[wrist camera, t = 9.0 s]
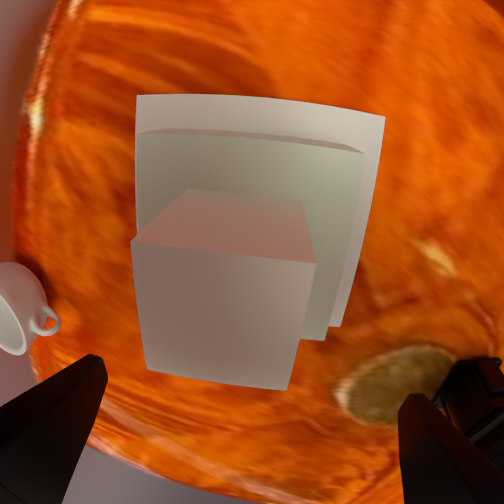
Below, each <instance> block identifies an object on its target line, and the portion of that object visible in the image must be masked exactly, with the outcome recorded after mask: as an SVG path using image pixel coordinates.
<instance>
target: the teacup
mask: <svg viewBox="0 0 504 504" xmlns="http://www.w3.org/2000/svg"><path fill="white" fill-rule="evenodd" d="M47 317H51V318H53V319H54V320H55V321H56V324H55V325H54V326H53V327H51V328H49V329H43V327H44V325H45V323H46V320H47ZM60 327H61V322H60V318H59V316H58V315H57V314H56V313H55V311H54V310H52V309H51V308H50V307H49V306H48V302H47V297H46V294H45V291H44V289H43V287H42V285H41V283H40V281H39V280H38V278H37V277H36V276H35V275H34V274H33V273H32V272H31V271H30V270H29V269H28V268H27V267H25V266H23V265H21V264H19V263H15V262H2V263H0V347H1V348H2V349H3V350H5V351H6V352H9V353H11V354H13V355H22V354H23V353H25V352H26V350H27V349H28V348H29V347H30V345H31V344H32V343H33V341H34V340H35V339H36V337H37V336H38V334H39V335H41V336H51V335H53V334H55V333H56V332H58V331H59V329H60Z"/></svg>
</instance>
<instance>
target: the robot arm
mask: <svg viewBox="0 0 504 504" xmlns="http://www.w3.org/2000/svg"><path fill="white" fill-rule="evenodd" d="M501 364H502V361H501V359H500V358H496V359H485V360H471V361H460V362H458V363H457V364H456V365H455V366H454V368H453V370H452V371H451V373H450V375H449V376H448V378H447V379H446V381H445V383H444V384H443V386H442V387H441V389H440V390H439V392H438V393H437V395H436V396H435V398H434V399H433V401H432V402H431V401H430V400H429V399H428V398H427V397H426V396H425V395H424V394H423V393H410V394H409V395H408V396H407V398H406V399H405V401H404V403H403V404H402V406H401V407H400V409H399V411H398V436H399V460H400V469H401V477H402V485H403V495H404V504H504V375H503V373H502V372H501V370H500V368H499V367H500V366H501ZM107 382H108V374H107V371H106V368H105V364H104V361H103V359H102V357H100V356H97V355H93V354H88V355H86V356H84V357H83V358H81V359H79V360H78V361H76V362H74V363H73V364H71V365H69V366H68V367H66V368H64V369H63V370H61V371H59V372H58V373H56V374H54V375H53V376H51V377H49V378H48V379H46V380H44V381H43V382H41V383H39V384H38V385H36V386H34V387H33V388H31V389H29V390H28V391H26V392H24V393H22V394H21V395H19V396H17V397H16V398H14V399H12V400H11V401H9V402H7V403H6V404H4V405H2V407H0V504H61V503H62V501H63V498H64V496H65V493H66V491H67V488H68V485H69V483H70V480H71V478H72V475H73V473H74V470H75V468H76V465H77V463H78V460H79V458H80V455H81V453H82V451H83V448H84V446H85V444H86V441H87V439H88V437H89V434H90V432H91V430H92V427H93V425H94V422H95V419H96V416H97V413H98V410H99V407H100V404H101V400H102V397H103V394H104V391H105V388H106V385H107ZM438 408H444V411H445V413H446V416H447V417H446V416H445V415H444V414H443V413H442V412H441V411H440V410H439V409H438Z"/></svg>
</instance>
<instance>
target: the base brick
mask: <svg viewBox="0 0 504 504" xmlns="http://www.w3.org/2000/svg"><path fill="white" fill-rule="evenodd" d="M365 156H366V154H365V153H363V152H361V151H359V150H357V149H355V148H353V147H351V146H348V145H345V144H339V143H333V142H327V141H320V140H313V139H306V138H299V137H291V136H282V135H273V134H263V133H253V132H240V131H226V130H209V129H183V128H165V129H159V130H154V131H149V132H143V133H138V134H137V204H138V227H139V233H140V232H141V231H142V230H143V229H144V228H145V227H146V226H147V225H148V224H149V223H150V222H151V221H153V220H154V219H155V218H156V217H157V216H158V215H159V214H160V213H161V212H162V211H163V210H165V209H166V208H167V207H168V206H169V205H170V204H171V203H172V202H173V201H175V200H176V199H177V198H178V197H179V196H180V195H181V194H183V193H184V192H185V191H186V190H187V189H188V188H190V189H202V190H213V191H224V192H234V193H244V194H253V195H262V196H271V197H279V198H288V199H296V200H302V203H303V207H304V211H305V215H306V219H307V224H308V228H309V232H310V237H311V241H312V246H313V250H314V255H315V259H316V268H315V273H314V278H313V282H312V287H311V292H310V297H309V301H308V306H307V310H306V315H305V319H304V323H303V328H302V332H301V336H300V339H308V340H321V341H324V340H325V337H326V333H327V330H328V326H329V322H330V319H331V315H332V312H333V308H334V304H335V300H336V296H337V293H338V289H339V285H340V281H341V277H342V272H343V268H344V264H345V260H346V255H347V251H348V246H349V242H350V237H351V233H352V228H353V223H354V218H355V213H356V208H357V203H358V197H359V192H360V186H361V181H362V175H363V169H364V163H365Z"/></svg>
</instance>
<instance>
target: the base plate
mask: <svg viewBox="0 0 504 504" xmlns="http://www.w3.org/2000/svg"><path fill="white" fill-rule="evenodd" d="M384 124H385V117H384V116H379V115H375V114H370V113H365V112H361V111H355V110H350V109H345V108H339V107H334V106H328V105H321V104H315V103H308V102H300V101H292V100H284V99H274V98H264V97H252V96H237V95H215V94H154V95H137V103H136V126H135V199H136V223H137V235H138V234H139V227H138V204H137V134H138V133H143V132H149V131H154V130H159V129H165V128H183V129H209V130H226V131H240V132H253V133H263V134H273V135H282V136H291V137H299V138H306V139H313V140H320V141H327V142H333V143H339V144H345V145H348V146H351V147H353V148H355V149H357V150H359V151H361V152H363V153H365V154H366V156H365V163H364V169H363V175H362V181H361V186H360V192H359V197H358V203H357V208H356V213H355V218H354V223H353V228H352V233H351V237H350V242H349V246H348V251H347V255H346V260H345V264H344V268H343V272H342V277H341V281H340V285H339V289H338V293H337V296H336V300H335V304H334V308H333V312H332V315H331V319H330V322H329V326H333V327H340V326H341V322H342V319H343V316H344V312H345V309H346V305H347V302H348V298H349V295H350V291H351V287H352V284H353V280H354V276H355V272H356V268H357V264H358V261H359V256H360V252H361V248H362V244H363V240H364V235H365V231H366V226H367V222H368V217H369V212H370V208H371V203H372V198H373V192H374V187H375V182H376V176H377V170H378V164H379V158H380V152H381V146H382V139H383V132H384Z"/></svg>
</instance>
